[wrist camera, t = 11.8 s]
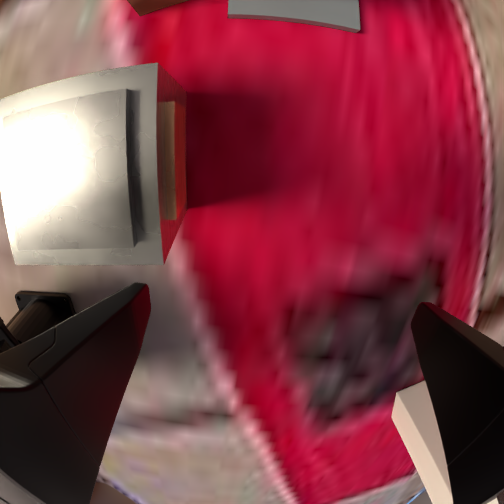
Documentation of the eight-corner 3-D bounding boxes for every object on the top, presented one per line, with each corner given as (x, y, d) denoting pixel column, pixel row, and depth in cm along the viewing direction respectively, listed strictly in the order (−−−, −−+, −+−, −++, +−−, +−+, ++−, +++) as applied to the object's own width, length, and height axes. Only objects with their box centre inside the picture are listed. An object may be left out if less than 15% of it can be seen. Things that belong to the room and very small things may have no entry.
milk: (395, 391, 31) (469, 537, 10) (435, 374, 31) (517, 503, 10) (390, 417, 33) (449, 546, 13) (427, 401, 33) (493, 519, 13)
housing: (83, 213, 20) (9, 270, 11) (76, 105, 17) (-11, 100, 8) (193, 209, 20) (171, 271, 12) (192, 91, 17) (165, 58, 8)
